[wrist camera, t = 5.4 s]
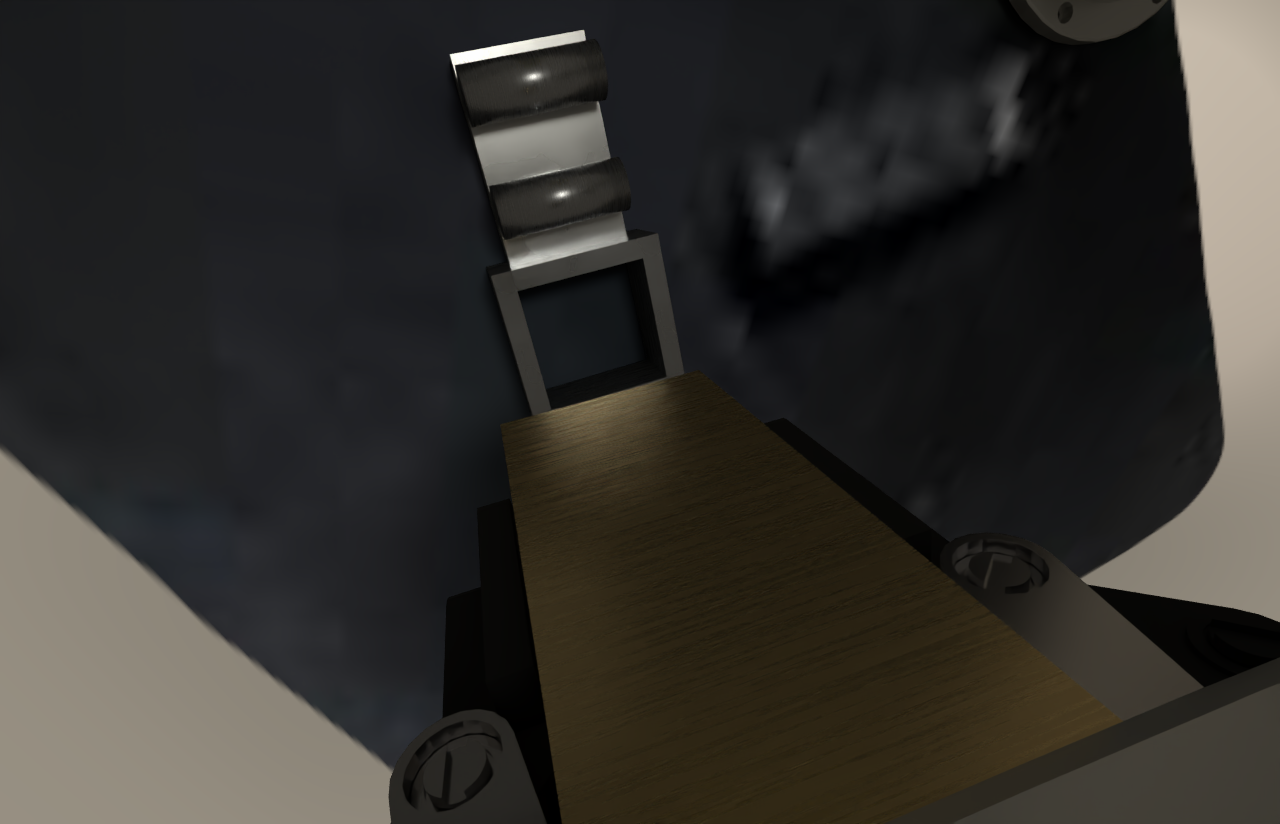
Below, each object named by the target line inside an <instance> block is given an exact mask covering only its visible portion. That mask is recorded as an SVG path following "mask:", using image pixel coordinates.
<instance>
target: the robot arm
mask: <svg viewBox="0 0 1280 824" xmlns="http://www.w3.org/2000/svg"><path fill="white" fill-rule="evenodd" d="M1009 1H1010V3H1011V4H1012V6H1013V7H1014V9H1015V10H1016V12H1017V13H1018V15H1019V16H1020V18H1021V19H1022V20H1023V21H1024V22H1025V23H1027V24H1028V25H1029V26H1030V27H1031V28H1032V29H1033V30H1034V31H1035V32H1036V33H1038V34H1040V35H1042V36H1044V37H1046V38H1048V39H1050V40H1052V41H1054V42H1058V43H1063V44H1068V45H1081V44H1092V43H1096V42H1100V41H1104V40H1108V39H1112V38H1116V37H1119V36H1121V35H1123V34H1125V33H1127V32H1129V31H1131V30H1133V29H1135V28H1137V27H1138V26H1140V25H1141V24H1142V23H1144V22H1145V21H1146V20H1148V19H1149V18H1150V17H1152V16H1153V15H1154V14H1156V13H1157V12H1158V10H1159V9H1160V8H1161V7H1162V6H1163V5H1164V4H1165V3H1166V2H1167V1H1168V0H1009ZM764 424H765V425H766V426H767V427H768V428H769V429H771V430H772V431H773V432H774V433H775V434H777V435H778V436H779V437H780V438H781V439H783V440H784V441H785V442H786V443H788V444H789V445H790V446H791V447H792V448H794V449H795V450H796V451H797V452H798V453H800V454H801V455H802V456H803V457H804V458H806V459H807V460H808V461H809V462H810V463H812V464H813V465H814V466H815V467H817V468H818V469H819V470H820V471H821V472H823V473H824V474H825V475H826V476H827V477H829V478H830V479H831V480H832V481H833V482H835V483H836V484H837V485H838V486H839V487H841V488H842V489H843V490H844V491H846V492H847V493H848V494H849V495H850V496H852V497H853V498H854V499H855V500H856V501H858V502H859V503H860V504H861V505H862V506H864V507H865V508H866V509H867V510H868V511H870V512H871V513H872V514H873V515H875V516H876V517H877V518H878V519H879V520H881V521H882V522H883V523H884V524H885V525H887V526H888V527H889V528H890V529H891V530H893V531H894V532H895V533H896V534H897V535H899V536H900V537H901V538H902V539H903V540H905V541H906V542H907V543H908V544H910V545H911V546H912V547H913V548H914V549H916V550H917V551H918V552H919V553H920V554H922V555H923V556H924V557H925V558H926V559H928V560H929V561H930V562H931V563H932V564H934V565H935V566H936V567H937V568H939V569H940V570H941V571H942V572H943V573H945V574H946V575H947V576H948V577H949V578H951V579H952V580H953V581H954V582H955V583H957V584H958V585H959V586H960V587H961V588H963V589H964V590H965V591H966V592H968V593H969V594H970V595H971V596H972V597H974V598H975V599H976V600H977V601H978V602H980V603H981V604H982V605H983V606H984V607H986V608H987V609H988V610H989V611H990V612H992V613H993V614H994V615H995V616H997V617H998V618H999V619H1000V620H1001V621H1003V622H1004V623H1005V624H1006V625H1007V626H1009V627H1010V628H1011V629H1012V630H1013V631H1015V632H1016V633H1017V634H1018V635H1019V636H1021V637H1022V638H1023V639H1024V640H1026V641H1027V642H1028V643H1029V644H1030V645H1032V646H1033V647H1034V648H1035V649H1036V650H1038V651H1039V652H1040V653H1041V654H1042V655H1044V656H1045V657H1046V658H1047V659H1048V660H1050V661H1051V662H1052V663H1053V664H1055V665H1056V666H1057V667H1058V668H1059V669H1061V670H1062V671H1063V672H1064V673H1065V674H1067V675H1068V676H1069V677H1070V678H1071V679H1073V680H1074V681H1075V682H1076V683H1077V684H1079V685H1080V686H1081V687H1082V688H1083V689H1085V690H1086V691H1087V692H1088V693H1090V694H1091V695H1092V696H1093V697H1094V698H1096V699H1097V700H1098V701H1099V702H1100V703H1102V704H1103V705H1104V706H1105V707H1106V708H1108V709H1109V710H1110V711H1111V712H1112V713H1114V714H1115V715H1116V716H1117V717H1119V718H1120V719H1121V720H1122V721H1123V722H1120V723H1118V724H1116V725H1113V726H1111V727H1109V728H1106V729H1104V730H1102V731H1099V732H1097V733H1095V734H1092V735H1090V736H1087V737H1085V738H1083V739H1080V740H1078V741H1076V742H1073V743H1071V744H1069V745H1066V746H1064V747H1061V748H1059V749H1057V750H1054V751H1052V752H1050V753H1047V754H1045V755H1043V756H1040V757H1038V758H1036V759H1033V760H1031V761H1028V762H1026V763H1024V764H1021V765H1019V766H1017V767H1014V768H1012V769H1010V770H1007V771H1005V772H1003V773H1000V774H998V775H996V776H993V777H991V778H989V779H986V780H984V781H982V782H979V783H977V784H975V785H972V786H970V787H968V788H965V789H963V790H961V791H958V792H956V793H954V794H951V795H949V796H947V797H945V798H942V799H940V800H938V801H935V802H933V803H931V804H928V805H926V806H924V807H921V808H919V809H917V810H914V811H912V812H910V813H907V814H905V815H903V816H900V817H898V818H896V819H893V820H891V821H889V822H886V823H884V824H1280V622H1278V621H1275V620H1272V619H1270V618H1267V617H1264V616H1262V615H1259V614H1255V613H1250V612H1246V611H1242V610H1238V609H1234V608H1228V607H1221V606H1215V605H1209V604H1203V603H1197V602H1190V601H1185V600H1178V599H1172V598H1166V597H1160V596H1154V595H1147V594H1142V593H1136V592H1130V591H1123V590H1117V589H1111V588H1105V587H1099V586H1093V585H1087V584H1086V583H1084V582H1083V581H1082V580H1081V579H1080V578H1079V577H1078V576H1076V575H1075V574H1074V573H1073V572H1072V571H1071V570H1070V569H1068V568H1067V567H1066V566H1065V565H1064V564H1063V563H1062V562H1060V561H1059V560H1058V559H1057V558H1056V557H1055V556H1054V555H1052V554H1051V553H1050V552H1048V551H1047V550H1045V549H1044V548H1042V547H1041V546H1039V545H1037V544H1035V543H1033V542H1030V541H1028V540H1025V539H1023V538H1020V537H1015V536H1011V535H1007V534H1001V533H987V532H984V533H974V534H967V535H964V536H961V537H958V538H955V539H954V540H952V541H951V542H949V541H947V540H946V539H945V538H943V537H942V536H941V535H939V534H938V533H937V532H935V531H934V530H933V529H931V528H930V527H929V526H927V525H926V524H925V523H923V522H922V521H921V520H920V519H918V518H917V517H916V516H914V515H913V514H912V513H910V512H909V511H908V510H906V509H905V508H904V507H902V506H901V505H900V504H898V503H897V502H896V501H894V500H893V499H892V498H890V497H889V496H888V495H886V494H885V493H884V492H882V491H881V490H880V489H878V488H877V487H876V486H875V485H873V484H872V483H871V482H869V481H868V480H867V479H865V478H864V477H863V476H861V475H860V474H858V473H857V472H855V471H854V470H853V469H852V468H850V467H849V466H848V465H846V464H845V463H844V462H842V461H841V460H840V459H838V458H837V457H836V456H834V455H833V454H832V453H830V452H829V451H828V450H826V449H825V448H824V447H822V446H821V445H820V444H818V443H817V442H816V441H814V440H813V439H812V438H811V437H809V436H808V435H807V434H805V433H804V432H803V431H801V430H800V429H799V428H797V427H796V426H795V425H793V424H792V423H791V422H789V421H788V420H787V419H785V418H781V419H778V420H774V421H771V422H768V423H764ZM477 515H478V536H479V557H480V578H481V587H480V588H477V589H473V590H470V591H467V592H464V593H461V594H458V595H455V596H451V597H449V598H448V599H447V606H446V634H445V663H444V693H443V718H442V719H441V720H439V721H438V722H436V723H434V724H433V725H431V726H430V727H428V728H426V729H425V730H424V731H423V732H422V733H421V734H420V735H419V736H418V737H416V738H415V739H414V740H413V741H412V742H411V743H410V744H409V745H408V747H407V748H406V750H405V751H404V753H403V754H402V755H401V757H400V758H399V760H398V761H397V763H396V766H395V768H394V771H393V773H392V776H391V778H390V786H389V806H390V815H391V824H562V820H561V814H560V807H559V801H558V794H557V788H556V781H555V775H554V768H553V762H552V755H551V749H550V742H549V736H548V729H547V723H546V716H545V710H544V703H543V697H542V690H541V684H540V677H539V671H538V664H537V658H536V652H535V645H534V639H533V632H532V626H531V619H530V613H529V606H528V600H527V593H526V587H525V580H524V574H523V567H522V561H521V554H520V548H519V541H518V535H517V528H516V522H515V515H514V509H513V507H512V504H511V501H510V499H507V500H503V501H500V502H497V503H493V504H490V505H486V506H483V507H480V508H477Z"/></svg>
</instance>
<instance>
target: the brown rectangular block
mask: <svg viewBox="0 0 1280 824" xmlns="http://www.w3.org/2000/svg"><path fill="white" fill-rule="evenodd" d="M500 425H501V431H502V438H503V444H504V451H505V457H506V464H507V470H508V477H509V483H510V490H511V496H512V502H513V509H514V515H515V522H516V528H517V535H518V541H519V548H520V554H521V561H522V567H523V574H524V580H525V587H526V593H527V600H528V606H529V613H530V619H531V626H532V632H533V639H534V645H535V652H536V658H537V664H538V671H539V677H540V684H541V690H542V697H543V703H544V710H545V716H546V723H547V729H548V736H549V742H550V749H551V755H552V762H553V768H554V775H555V781H556V788H557V794H558V801H559V807H560V814H561V820H562V824H884V823H886V822H889V821H891V820H893V819H896V818H898V817H900V816H903V815H905V814H907V813H910V812H912V811H914V810H917V809H919V808H921V807H924V806H926V805H928V804H931V803H933V802H935V801H938V800H940V799H942V798H945V797H947V796H949V795H951V794H954V793H956V792H958V791H961V790H963V789H965V788H968V787H970V786H972V785H975V784H977V783H979V782H982V781H984V780H986V779H989V778H991V777H993V776H996V775H998V774H1000V773H1003V772H1005V771H1007V770H1010V769H1012V768H1014V767H1017V766H1019V765H1021V764H1024V763H1026V762H1028V761H1031V760H1033V759H1036V758H1038V757H1040V756H1043V755H1045V754H1047V753H1050V752H1052V751H1054V750H1057V749H1059V748H1061V747H1064V746H1066V745H1069V744H1071V743H1073V742H1076V741H1078V740H1080V739H1083V738H1085V737H1087V736H1090V735H1092V734H1095V733H1097V732H1099V731H1102V730H1104V729H1106V728H1109V727H1111V726H1113V725H1116V724H1118V723H1120V722H1123V721H1122V720H1121V719H1120V718H1119V717H1117V716H1116V715H1115V714H1114V713H1112V712H1111V711H1110V710H1109V709H1108V708H1106V707H1105V706H1104V705H1103V704H1102V703H1100V702H1099V701H1098V700H1097V699H1096V698H1094V697H1093V696H1092V695H1091V694H1090V693H1088V692H1087V691H1086V690H1085V689H1083V688H1082V687H1081V686H1080V685H1079V684H1077V683H1076V682H1075V681H1074V680H1073V679H1071V678H1070V677H1069V676H1068V675H1067V674H1065V673H1064V672H1063V671H1062V670H1061V669H1059V668H1058V667H1057V666H1056V665H1055V664H1053V663H1052V662H1051V661H1050V660H1048V659H1047V658H1046V657H1045V656H1044V655H1042V654H1041V653H1040V652H1039V651H1038V650H1036V649H1035V648H1034V647H1033V646H1032V645H1030V644H1029V643H1028V642H1027V641H1026V640H1024V639H1023V638H1022V637H1021V636H1019V635H1018V634H1017V633H1016V632H1015V631H1013V630H1012V629H1011V628H1010V627H1009V626H1007V625H1006V624H1005V623H1004V622H1003V621H1001V620H1000V619H999V618H998V617H997V616H995V615H994V614H993V613H992V612H990V611H989V610H988V609H987V608H986V607H984V606H983V605H982V604H981V603H980V602H978V601H977V600H976V599H975V598H974V597H972V596H971V595H970V594H969V593H968V592H966V591H965V590H964V589H963V588H961V587H960V586H959V585H958V584H957V583H955V582H954V581H953V580H952V579H951V578H949V577H948V576H947V575H946V574H945V573H943V572H942V571H941V570H940V569H939V568H937V567H936V566H935V565H934V564H932V563H931V562H930V561H929V560H928V559H926V558H925V557H924V556H923V555H922V554H920V553H919V552H918V551H917V550H916V549H914V548H913V547H912V546H911V545H910V544H908V543H907V542H906V541H905V540H903V539H902V538H901V537H900V536H899V535H897V534H896V533H895V532H894V531H893V530H891V529H890V528H889V527H888V526H887V525H885V524H884V523H883V522H882V521H881V520H879V519H878V518H877V517H876V516H875V515H873V514H872V513H871V512H870V511H868V510H867V509H866V508H865V507H864V506H862V505H861V504H860V503H859V502H858V501H856V500H855V499H854V498H853V497H852V496H850V495H849V494H848V493H847V492H846V491H844V490H843V489H842V488H841V487H839V486H838V485H837V484H836V483H835V482H833V481H832V480H831V479H830V478H829V477H827V476H826V475H825V474H824V473H823V472H821V471H820V470H819V469H818V468H817V467H815V466H814V465H813V464H812V463H810V462H809V461H808V460H807V459H806V458H804V457H803V456H802V455H801V454H800V453H798V452H797V451H796V450H795V449H794V448H792V447H791V446H790V445H789V444H788V443H786V442H785V441H784V440H783V439H781V438H780V437H779V436H778V435H777V434H775V433H774V432H773V431H772V430H771V429H769V428H768V427H767V426H766V425H765V424H763V423H762V422H761V421H760V420H759V419H757V418H756V417H755V416H754V415H752V414H751V413H750V412H749V411H748V410H746V409H745V408H744V407H743V406H742V405H740V404H739V403H738V402H737V401H736V400H734V399H733V398H732V397H731V396H730V395H728V394H727V393H726V392H725V391H723V390H722V389H721V388H720V387H719V386H717V385H716V384H715V383H714V382H713V381H711V380H710V379H709V378H708V377H707V376H705V375H704V374H703V373H702V372H701V371H699V370H697V371H694V372H690V373H687V374H683V375H679V376H676V377H672V378H668V379H665V380H661V381H657V382H654V383H650V384H646V385H643V386H639V387H635V388H632V389H628V390H624V391H621V392H617V393H614V394H610V395H606V396H603V397H599V398H595V399H592V400H588V401H584V402H581V403H577V404H573V405H570V406H566V407H562V408H559V409H555V410H552V411H548V412H544V413H541V414H537V415H533V416H530V417H526V418H522V419H519V420H515V421H511V422H508V423H504V424H500Z"/></svg>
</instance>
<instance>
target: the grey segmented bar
mask: <svg viewBox="0 0 1280 824" xmlns="http://www.w3.org/2000/svg"><path fill="white" fill-rule="evenodd" d="M450 65H451V69H452V72H453V76H454V79H455V83H456V86H457V90H458V93H459V97H460V100H461V104H462V107H463V110H464V114H465V117H466V121H467V124H468V128H469V131H470V135H471V138H472V142H473V145H474V149H475V152H476V156H477V159H478V163H479V166H480V170H481V173H482V177H483V180H484V184H485V187H486V190H487V194H488V197H489V201H490V204H491V208H492V211H493V215H494V218H495V222H496V225H497V229H498V232H499V236H500V239H501V243H502V246H503V250H504V253H505V257H506V260H507V262H503V263H499V264H496V265H492V266H488V267H486V268H487V271H488V275H489V278H490V281H491V284H492V288H493V291H494V294H495V298H496V301H497V304H498V308H499V311H500V314H501V318H502V321H503V324H504V328H505V331H506V334H507V337H508V341H509V344H510V347H511V351H512V354H513V357H514V361H515V364H516V367H517V371H518V374H519V377H520V381H521V384H522V387H523V390H524V394H525V397H526V400H527V404H528V407H529V410H530V413H531V416H533V415H537V414H541V413H544V412H548V411H552V410H555V409H559V408H562V407H566V406H570V405H573V404H577V403H581V402H584V401H588V400H592V399H595V398H599V397H603V396H606V395H610V394H614V393H617V392H621V391H624V390H628V389H632V388H635V387H639V386H643V385H646V384H650V383H654V382H657V381H661V380H665V379H668V378H672V377H676V376H679V375H683V374H684V370H683V364H682V359H681V354H680V349H679V343H678V338H677V333H676V327H675V322H674V317H673V312H672V306H671V301H670V296H669V290H668V285H667V280H666V274H665V269H664V264H663V259H662V253H661V248H660V243H659V237H658V233H654V232H649V231H645V230H640V229H634V230H630V231H626V230H625V226H624V221H623V216H622V211H626V210H629V209H630V205H631V194H630V186H629V181H628V177H627V174H626V171H625V168H624V165H623V163H622V161H621V160H620V158H619V157H614V158H610V154H609V149H608V144H607V139H606V134H605V130H604V125H603V120H602V115H601V110H600V106H599V101H603V100H606V98H607V93H608V81H607V72H606V67H605V62H604V58H603V54H602V51H601V48H600V46H599V44H598V42H597V41H596V40H595V39H590V40H586V39H585V34H584V30H581V31H575V32H570V33H564V34H559V35H554V36H548V37H543V38H537V39H532V40H526V41H521V42H516V43H510V44H505V45H499V46H494V47H489V48H483V49H478V50H472V51H467V52H462V53H456V54H451V55H450ZM623 263H626V264H627V269H628V274H629V279H630V283H631V288H632V293H633V297H634V302H635V307H636V312H637V316H638V321H639V326H640V330H641V335H642V340H643V345H644V349H645V354H646V359H647V360H644V361H640V362H637V363H633V364H630V365H627V366H623V367H620V368H617V369H613V370H610V371H606V372H603V373H600V374H596V375H593V376H590V377H586V378H583V379H579V380H576V381H573V382H569V383H566V384H562V385H559V386H556V387H552V388H549V389H545V386H544V382H543V379H542V375H541V372H540V368H539V365H538V361H537V358H536V354H535V351H534V347H533V344H532V340H531V337H530V334H529V330H528V327H527V323H526V320H525V316H524V313H523V309H522V306H521V302H520V299H519V295H518V292H517V291H520V290H524V289H528V288H531V287H535V286H539V285H543V284H547V283H550V282H554V281H558V280H562V279H566V278H569V277H573V276H577V275H581V274H585V273H588V272H592V271H596V270H600V269H604V268H607V267H611V266H615V265H619V264H623Z"/></svg>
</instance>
